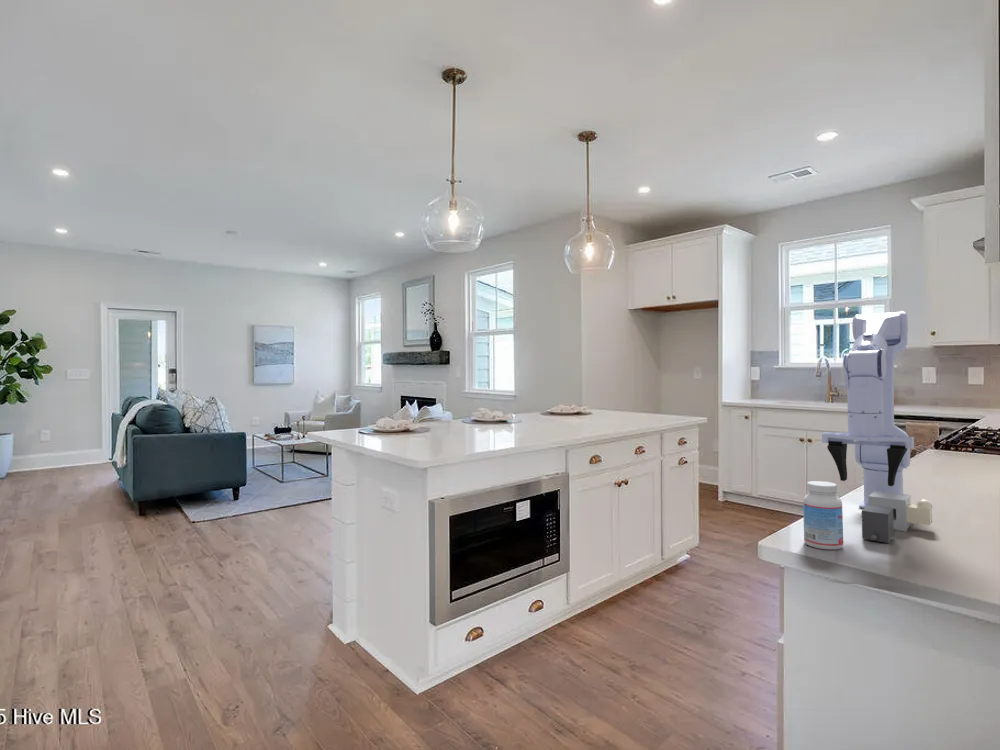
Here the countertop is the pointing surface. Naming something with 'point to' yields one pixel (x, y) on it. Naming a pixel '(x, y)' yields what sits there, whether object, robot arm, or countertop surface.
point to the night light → (920, 512)
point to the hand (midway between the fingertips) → (866, 482)
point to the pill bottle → (823, 516)
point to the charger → (877, 524)
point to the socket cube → (893, 506)
